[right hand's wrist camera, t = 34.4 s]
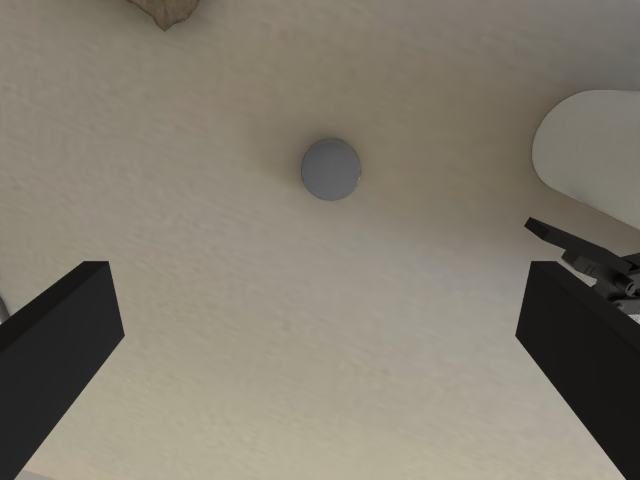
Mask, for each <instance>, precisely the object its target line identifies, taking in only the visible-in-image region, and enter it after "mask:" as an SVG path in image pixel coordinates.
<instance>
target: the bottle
mask: <svg viewBox="0 0 640 480" xmlns="http://www.w3.org/2000/svg"><path fill="white" fill-rule="evenodd" d="M532 161H533V165H534V168H535V171H536V173H537V174H538V176H539V178H540V179H541V180H542V181H543V182H544V183H545V184H546V185H548V186H549V187H551V188H553V189H555V190H557V191H559V192H561V193H563V194H565V195H567V196H569V197H571V198H574V199H576V200H578V201H580V202H582V203H584V204H586V205H588V206H590V207H592V208H595V209H597V210H599V211H601V212H603V213H605V214H607V215H609V216H611V217H614V218H616V219H618V220H620V221H622V222H624V223H626V224H628V225H630V226H632V227H635V228H637V229H639V230H640V91H626V90H588V91H583V92H580V93H577V94H574V95H572V96H570V97H568V98H566V99H565V100H563V101H562V102H560V103H559V104H558V105H556V106H555V107H554V108H553V109H552V110H551V111H550V112H549V113H548V114H547V115H546V117H545V118H544V119H543V121H542V122H541V124H540V126H539V127H538V130H537V132H536V134H535V137H534V140H533V146H532Z"/></svg>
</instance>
